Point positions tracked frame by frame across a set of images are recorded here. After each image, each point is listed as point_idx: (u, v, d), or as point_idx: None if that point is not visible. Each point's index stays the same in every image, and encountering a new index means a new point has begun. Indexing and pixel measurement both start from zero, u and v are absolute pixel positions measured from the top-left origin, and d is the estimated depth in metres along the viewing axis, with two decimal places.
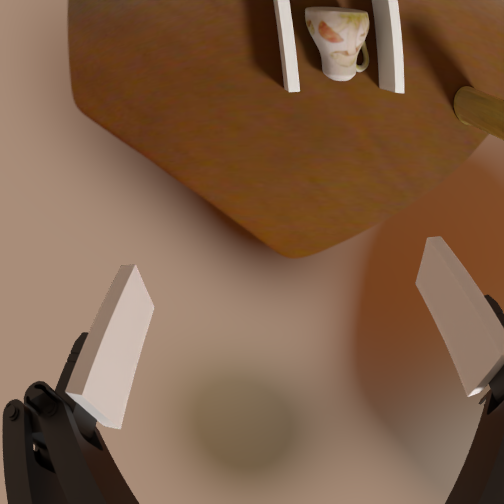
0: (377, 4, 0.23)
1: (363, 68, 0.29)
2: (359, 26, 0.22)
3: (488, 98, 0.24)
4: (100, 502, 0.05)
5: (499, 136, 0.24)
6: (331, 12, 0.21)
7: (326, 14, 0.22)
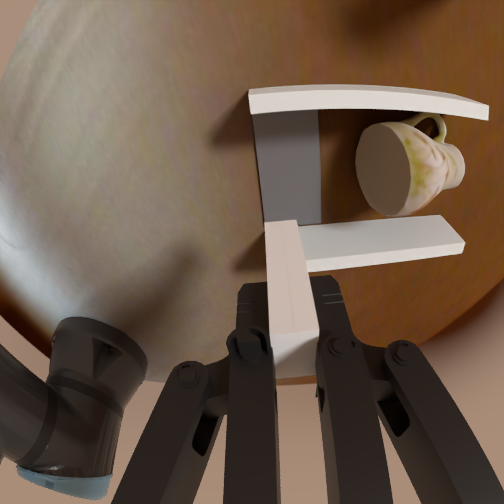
0: None
1: (443, 123, 0.20)
2: (428, 165, 0.16)
3: None
4: (268, 480, 0.05)
5: None
6: (406, 205, 0.18)
7: (405, 210, 0.18)
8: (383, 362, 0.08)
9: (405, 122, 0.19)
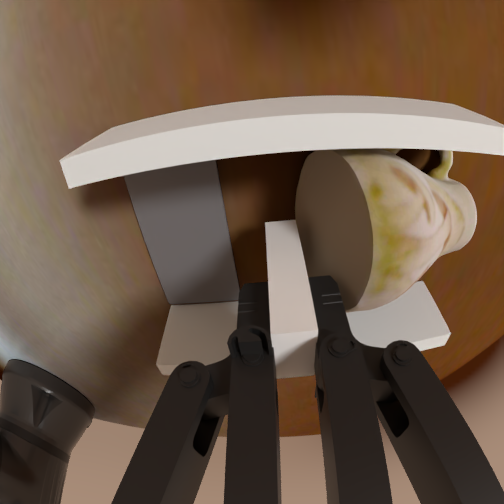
0: None
1: None
2: (413, 236, 0.09)
3: None
4: (269, 480, 0.05)
5: None
6: (360, 305, 0.11)
7: (360, 309, 0.11)
8: (382, 362, 0.08)
9: None
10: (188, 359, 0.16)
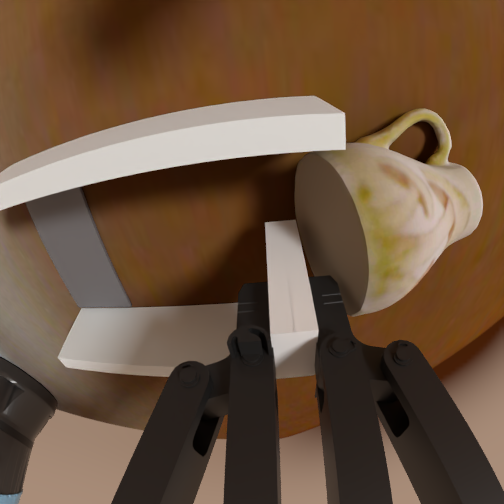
0: None
1: (445, 129, 0.12)
2: (410, 234, 0.09)
3: None
4: (269, 480, 0.05)
5: None
6: (364, 309, 0.10)
7: (366, 312, 0.11)
8: (382, 362, 0.08)
9: (373, 139, 0.11)
10: (79, 355, 0.17)
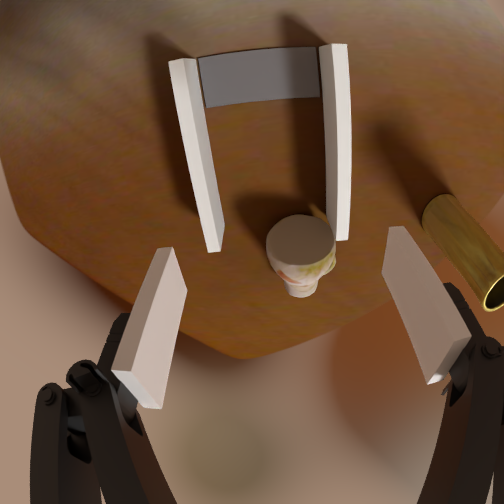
0: (327, 113, 0.24)
1: (328, 271, 0.36)
2: (320, 272, 0.29)
3: (461, 227, 0.25)
4: (137, 491, 0.05)
5: (464, 278, 0.25)
6: (289, 266, 0.28)
7: (284, 266, 0.28)
8: None
9: None
10: (188, 81, 0.20)
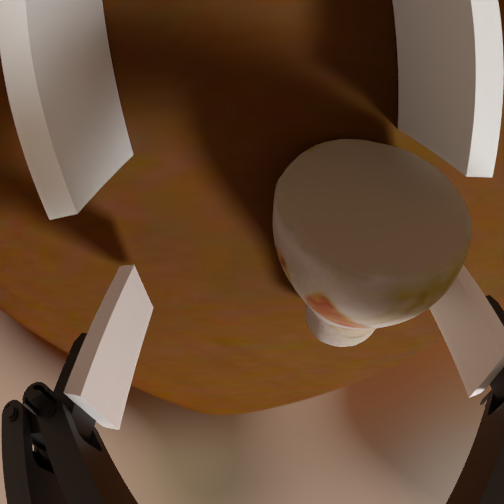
0: None
1: None
2: (436, 301, 0.08)
3: None
4: (99, 502, 0.04)
5: None
6: (366, 283, 0.07)
7: (344, 284, 0.07)
8: None
9: None
10: None
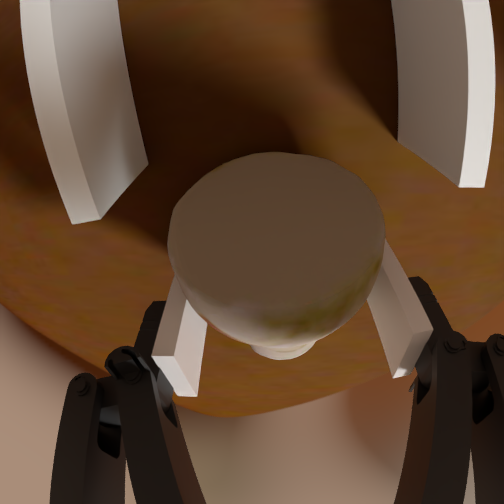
0: None
1: None
2: (337, 325, 0.08)
3: None
4: (170, 485, 0.05)
5: None
6: (228, 309, 0.07)
7: (212, 308, 0.08)
8: (483, 349, 0.07)
9: None
10: None
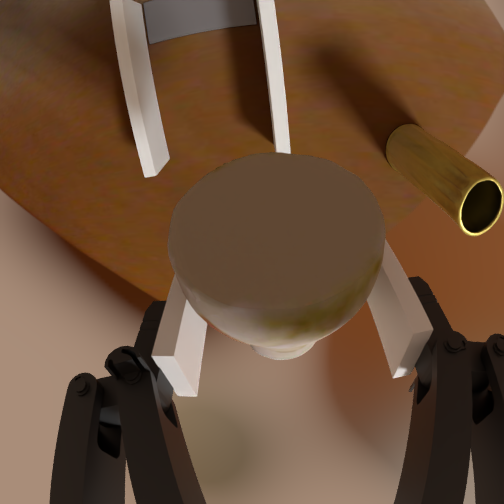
0: (261, 34, 0.21)
1: None
2: (337, 326, 0.08)
3: (426, 147, 0.23)
4: (170, 485, 0.05)
5: (436, 203, 0.23)
6: (229, 309, 0.07)
7: (213, 309, 0.08)
8: (484, 349, 0.07)
9: None
10: (125, 14, 0.17)
